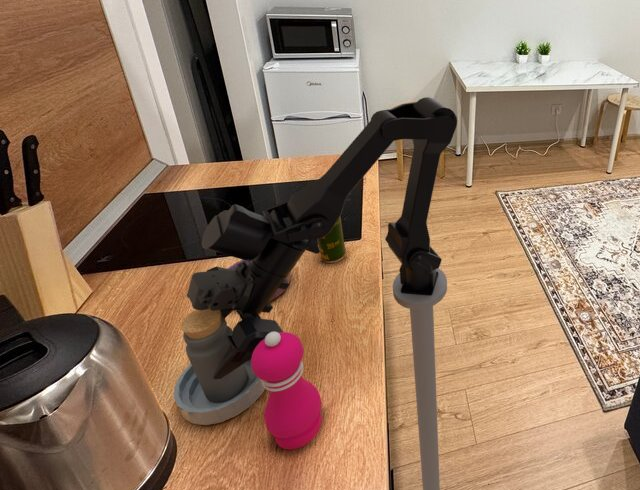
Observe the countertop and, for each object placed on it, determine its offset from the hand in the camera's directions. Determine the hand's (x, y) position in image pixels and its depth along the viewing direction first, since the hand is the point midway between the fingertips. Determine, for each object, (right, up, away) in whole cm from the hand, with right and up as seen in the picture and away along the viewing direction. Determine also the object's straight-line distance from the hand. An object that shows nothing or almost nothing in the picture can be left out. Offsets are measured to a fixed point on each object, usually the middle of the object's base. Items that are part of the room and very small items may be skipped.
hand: (206, 358), depth 62 cm
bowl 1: (0, -7, +4) cm, 8 cm away
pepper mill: (+14, -10, 0) cm, 17 cm away
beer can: (+5, +7, +33) cm, 34 cm away
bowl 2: (-7, +3, +23) cm, 24 cm away
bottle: (0, -7, +4) cm, 8 cm away
